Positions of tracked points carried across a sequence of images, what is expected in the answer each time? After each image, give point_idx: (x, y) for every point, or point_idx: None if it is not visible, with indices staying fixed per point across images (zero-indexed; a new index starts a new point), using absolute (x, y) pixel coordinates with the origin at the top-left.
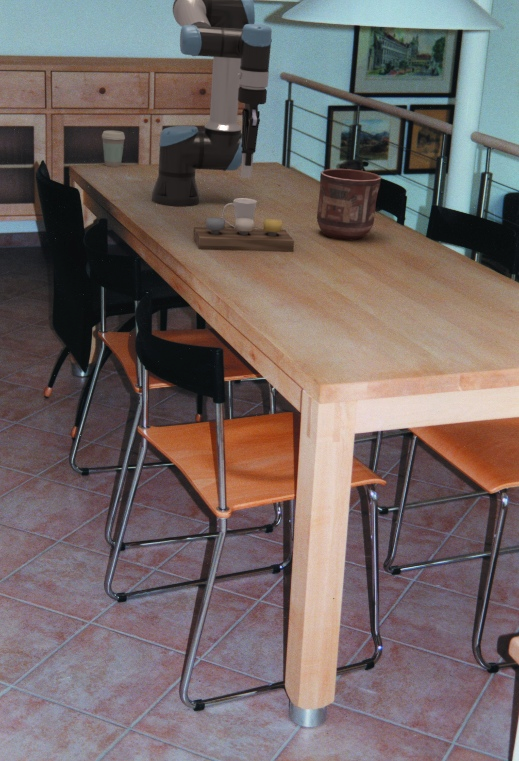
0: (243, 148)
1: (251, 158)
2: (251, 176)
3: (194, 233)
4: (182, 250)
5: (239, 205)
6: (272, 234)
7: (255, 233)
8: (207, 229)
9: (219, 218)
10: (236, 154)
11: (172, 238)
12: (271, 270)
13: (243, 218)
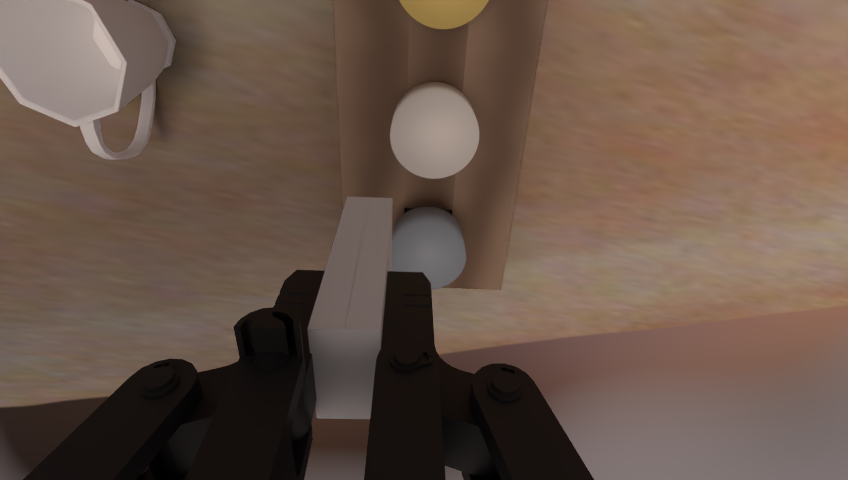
0: (307, 450)
1: (431, 320)
2: (390, 202)
3: None
4: (508, 313)
5: (125, 98)
6: None
7: (425, 60)
8: None
9: (413, 242)
10: None
11: None
12: (802, 77)
13: (401, 135)
